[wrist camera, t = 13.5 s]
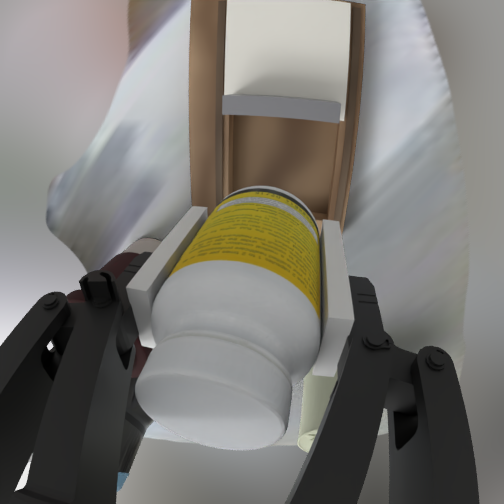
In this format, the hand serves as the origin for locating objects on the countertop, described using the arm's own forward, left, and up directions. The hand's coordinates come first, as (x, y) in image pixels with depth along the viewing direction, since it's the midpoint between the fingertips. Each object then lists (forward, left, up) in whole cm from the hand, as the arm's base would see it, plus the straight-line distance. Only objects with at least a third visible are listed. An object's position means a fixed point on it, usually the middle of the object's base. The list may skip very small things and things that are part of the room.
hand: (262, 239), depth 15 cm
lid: (0, +10, -12) cm, 16 cm away
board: (-1, +4, -15) cm, 15 cm away
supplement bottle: (0, 0, -1) cm, 1 cm away
